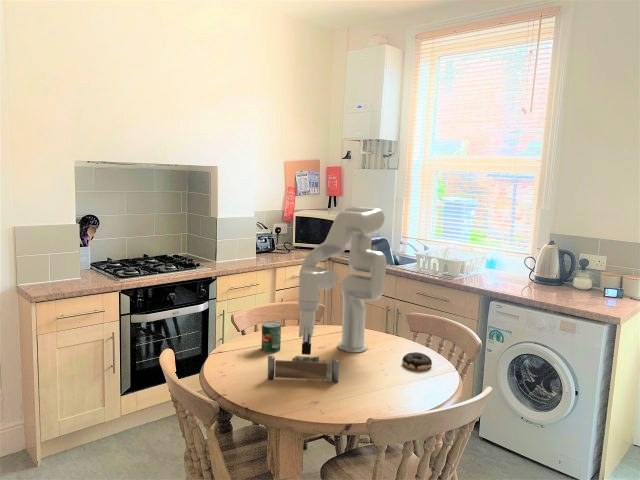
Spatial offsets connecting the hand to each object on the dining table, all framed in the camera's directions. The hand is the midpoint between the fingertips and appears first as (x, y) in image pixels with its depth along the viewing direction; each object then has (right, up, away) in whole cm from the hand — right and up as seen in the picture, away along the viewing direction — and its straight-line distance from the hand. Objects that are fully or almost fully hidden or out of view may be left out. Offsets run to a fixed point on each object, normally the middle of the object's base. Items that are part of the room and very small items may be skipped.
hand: (306, 353), depth 186 cm
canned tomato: (-15, -4, +26) cm, 31 cm away
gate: (-1, -8, -3) cm, 9 cm away
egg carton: (-1, -8, +9) cm, 12 cm away
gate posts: (-1, -9, -3) cm, 9 cm away
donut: (+43, -8, +15) cm, 47 cm away
